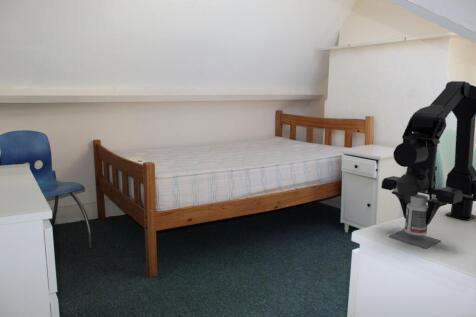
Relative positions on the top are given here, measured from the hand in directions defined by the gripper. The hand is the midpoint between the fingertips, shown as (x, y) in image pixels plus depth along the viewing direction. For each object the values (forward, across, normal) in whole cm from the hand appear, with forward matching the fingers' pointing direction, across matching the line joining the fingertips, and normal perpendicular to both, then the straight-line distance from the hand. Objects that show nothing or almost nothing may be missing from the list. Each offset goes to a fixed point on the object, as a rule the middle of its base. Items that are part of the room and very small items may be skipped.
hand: (416, 221), depth 107 cm
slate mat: (+5, 0, 0) cm, 5 cm away
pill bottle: (+3, 0, 0) cm, 3 cm away
